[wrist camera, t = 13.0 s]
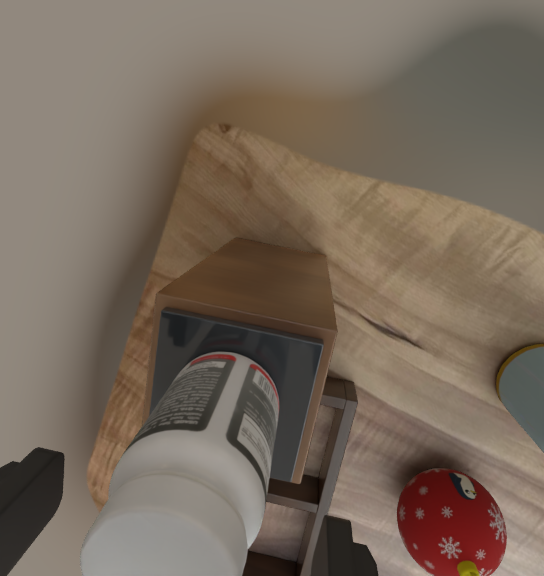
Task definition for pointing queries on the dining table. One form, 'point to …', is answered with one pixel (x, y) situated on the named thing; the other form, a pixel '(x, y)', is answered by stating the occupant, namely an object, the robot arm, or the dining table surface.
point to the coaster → (259, 348)
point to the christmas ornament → (451, 524)
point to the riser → (259, 305)
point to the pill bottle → (191, 477)
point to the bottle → (525, 390)
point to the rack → (311, 486)
